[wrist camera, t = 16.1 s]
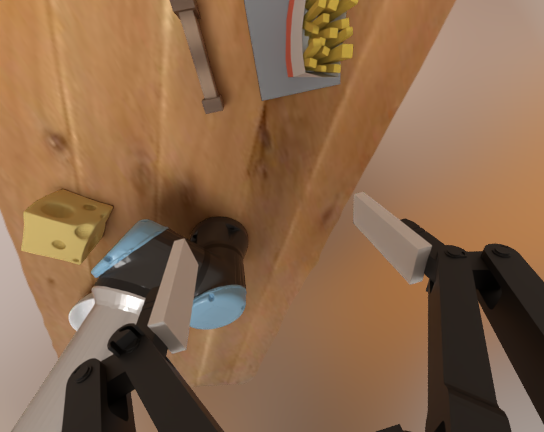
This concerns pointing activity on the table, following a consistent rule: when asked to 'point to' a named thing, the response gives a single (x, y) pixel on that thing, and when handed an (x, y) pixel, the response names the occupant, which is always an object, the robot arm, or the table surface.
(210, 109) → the walnut fence
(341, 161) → the table surface
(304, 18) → the french fries container
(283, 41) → the slate mat
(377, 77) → the table surface
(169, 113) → the table surface
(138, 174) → the table surface
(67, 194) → the cheese
